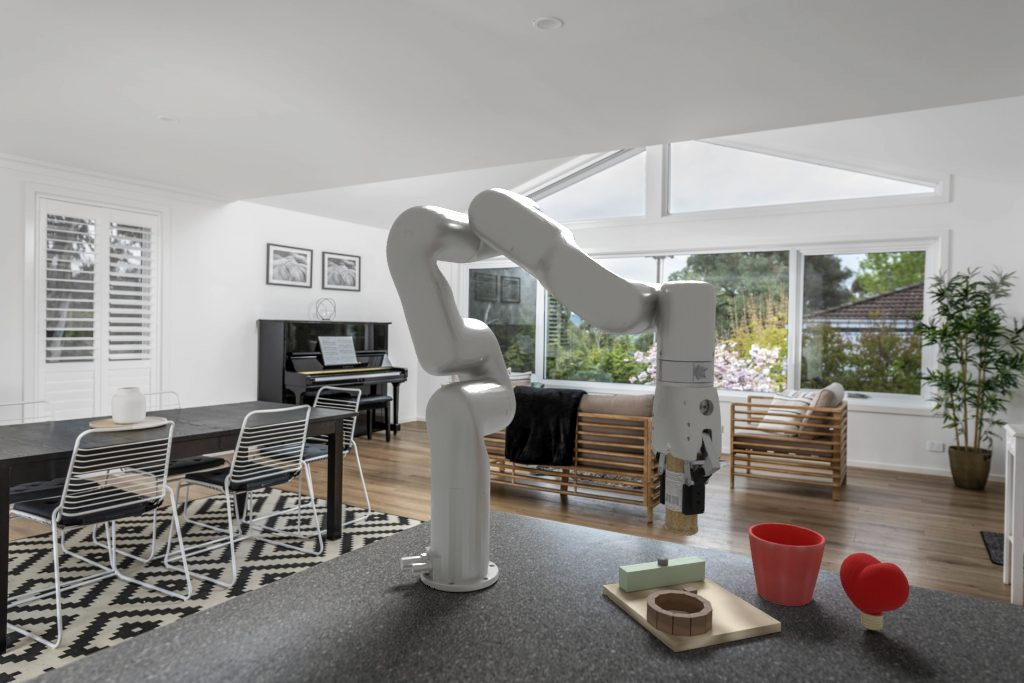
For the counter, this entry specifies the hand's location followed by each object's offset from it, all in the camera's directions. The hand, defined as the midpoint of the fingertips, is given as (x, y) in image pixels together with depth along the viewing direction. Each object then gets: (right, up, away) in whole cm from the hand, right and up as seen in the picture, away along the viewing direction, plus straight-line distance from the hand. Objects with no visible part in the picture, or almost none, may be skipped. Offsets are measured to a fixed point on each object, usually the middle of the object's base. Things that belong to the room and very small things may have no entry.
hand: (681, 507), depth 90 cm
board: (+2, -17, +7) cm, 18 cm away
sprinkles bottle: (0, -4, 0) cm, 4 cm away
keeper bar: (0, -15, +13) cm, 20 cm away
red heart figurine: (+26, -17, +1) cm, 32 cm away
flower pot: (+19, -17, +12) cm, 28 cm away
